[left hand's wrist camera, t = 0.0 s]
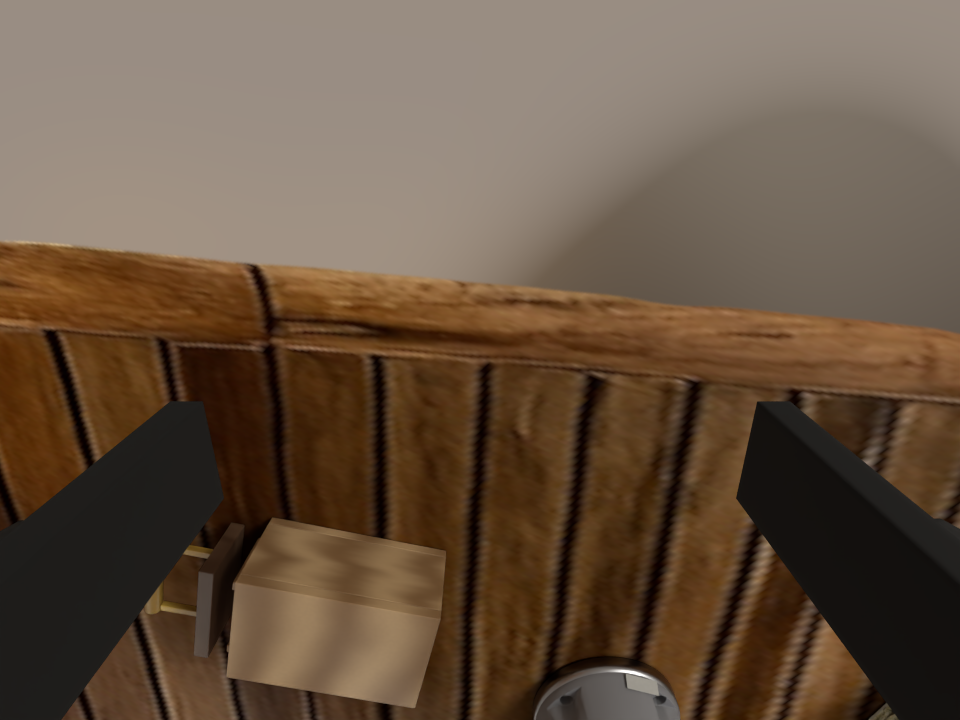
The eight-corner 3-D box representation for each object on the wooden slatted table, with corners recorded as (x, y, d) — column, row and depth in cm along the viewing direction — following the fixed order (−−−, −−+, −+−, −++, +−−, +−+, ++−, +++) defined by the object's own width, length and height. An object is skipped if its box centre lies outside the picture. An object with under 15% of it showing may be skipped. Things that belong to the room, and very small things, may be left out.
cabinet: (261, 603, 52) (226, 677, 44) (272, 516, 48) (234, 582, 40) (423, 632, 53) (414, 708, 46) (446, 550, 49) (440, 619, 42)
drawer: (162, 589, 50) (123, 644, 44) (164, 509, 46) (122, 557, 41) (379, 628, 51) (368, 685, 46) (397, 553, 48) (386, 605, 43)
